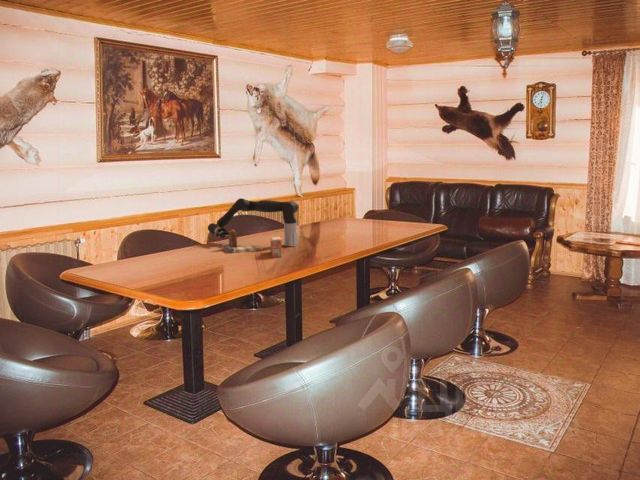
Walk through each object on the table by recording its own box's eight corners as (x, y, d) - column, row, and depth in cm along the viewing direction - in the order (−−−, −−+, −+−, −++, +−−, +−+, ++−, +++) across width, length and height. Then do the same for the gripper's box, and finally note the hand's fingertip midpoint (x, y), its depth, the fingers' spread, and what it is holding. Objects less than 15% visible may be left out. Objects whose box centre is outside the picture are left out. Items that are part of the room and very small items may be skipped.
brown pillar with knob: (234, 248, 448) (234, 229, 446) (237, 249, 445) (236, 230, 442) (229, 249, 446) (228, 229, 444) (231, 250, 442) (230, 230, 440)
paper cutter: (254, 246, 457) (254, 242, 456) (262, 250, 442) (262, 246, 441) (222, 249, 445) (222, 245, 445) (229, 253, 430) (229, 248, 430)
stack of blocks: (270, 251, 436) (270, 234, 434) (279, 251, 437) (279, 234, 435) (272, 257, 415) (272, 239, 413) (281, 257, 416) (281, 239, 414)
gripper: (211, 228, 464) (218, 230, 450) (229, 226, 470) (236, 229, 456) (212, 237, 465) (218, 240, 451) (229, 236, 471) (237, 239, 457)
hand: (227, 234), depth 453 cm, fingers open, 8 cm apart
